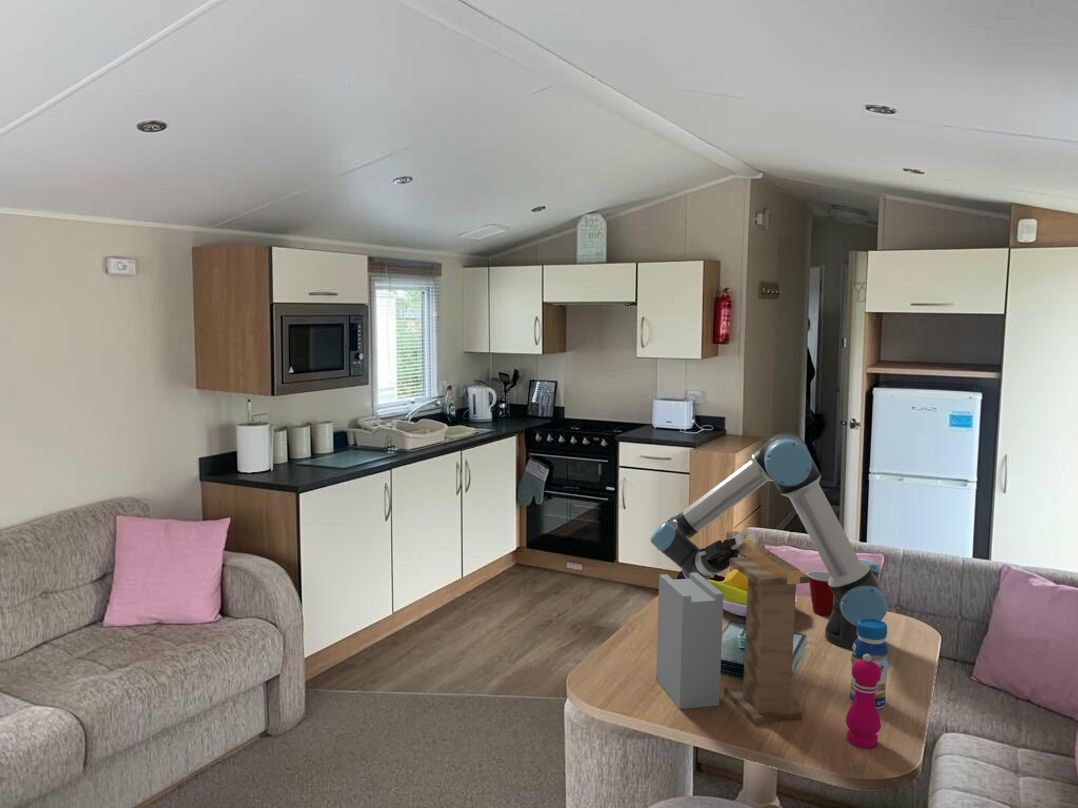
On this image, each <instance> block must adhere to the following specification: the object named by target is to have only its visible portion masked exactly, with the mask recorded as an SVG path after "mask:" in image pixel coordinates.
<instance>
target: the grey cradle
mask: <svg viewBox="0 0 1078 808" xmlns="http://www.w3.org/2000/svg"><path fill="white" fill-rule="evenodd" d="M658 575H659V578H658V606H657V607H658V608H657V610H658V611H657V612H658V613H657V636H656V637H657V643H656V669H655V670H656V672H655V681H657V683H658V684H659V685H660V687H661V688H662V689H663V690H664V692H665V693H666V694H667V695H668V697H669V698H670V699H671V701H672V702H673V703H674V705H675V706H676V707H677V708H678V710H684V709H685V710H686V709H687V710H688V709H697V708H707V707H716V706H718V707H719V706H720V696H721V695H720V692H721V691H720V688H721V667H722V665H721V664H722V645H723V644H722V643H723V642H722V639H723V638H722V637H723V617H724V616H723V615H724V609H723V593H722V592H721V591H719V590H718V589H717V588H716V587H714V586H713V585H712V584H711V583H710V582H708V581H707V580H706V579H705V578H703V577H702V576H701V575H700V574H698V573H697V572H696V573H690V574H689V579H686V578H681V579H679V578H678V579H677V578H675V579H673V578H672V577H671V576H670V575H668V574H667V573H665V574H663V573H662V574H658Z"/></svg>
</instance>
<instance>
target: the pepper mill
mask: <svg viewBox="0 0 1078 808" xmlns="http://www.w3.org/2000/svg"><path fill="white" fill-rule="evenodd" d="M871 659H872V658H871V656H870V655H869V654H865V655H863V659H862V660H858V661H856V662H855V663H854V665H853V667H852V666H851V671H852V675H853V677H854V679H855V680H854V681H853V683H854V685H853V687H854V689H855V698H854V701H853V703H852V702H851V705H850V707H849V708H848V710H847V713H846V716H845V723H846V726H847V728H848V729H847V732H846V740H847V741H848V743H850V744H851V745H853V746H855V747H857V748H862V749H872V748H873V749H874V748H875V747H876V746H877V745H878V738H879V735H878V733H879V731H880V730H881V728H882V725H881V724H882V721H881V717H880V714H879V712H878V711H879V710H878V709H876V706H875V692H877V691H878V688H877V687H878V684H877V682H878V681H879V680H880V678H881V670H880V668H879V666H878V665H877V664H876V663H875V662H873V661H871Z"/></svg>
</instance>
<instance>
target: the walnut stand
mask: <svg viewBox="0 0 1078 808" xmlns="http://www.w3.org/2000/svg"><path fill="white" fill-rule="evenodd" d="M729 564H730V567H732V568H733V569H737V570H738V571H739V572H741V573H742V574H744V575H745V576H746V577H748V588H747V611H746V616H745V637H744V638H745V639H744V641H745V642H744V660H743V661H744V662H743V663H744V665H743V680H742V681H743V685H730V686H724V690H723V693H724V694H725V695H726V696H727V698H729V700H731V702H732V703H733V704H734V705H735V706H736V707H737V709H739V711H741V712H742V713H743V715H744V716H745V717H746V718H748V720H749V721H750V722H751V723H752V724H753V725H759V724H768V723H779V722H787V721H788V722H789V721H798V720H802V719H803V713H802V711H801V710H800V709H798V708H797V707H796V705H794V704H793V703H792V702H791V699H792V698H791V697H792V696H791V694H792V675H793V674H792V673H793V654H794V634H795V633H794V632H795V616H796V611H795V610H796V603H795V599H796V597H797V584H786V583H785V582H783V581H782V580H780V579H779V578H777V577H776V576H774V575H773V574H771V573H770V572H768V571H767V570H765V569H764V568H762V567H761V566H759V565H758V564H756V563H755V562H753V561H752V560H750V559H749V558H747V557H744V556H743V557H736V558H730V563H729ZM799 584H801V585H802V584H809V576H808V575H807V573H804V572H803V571H802V570H801V571H800V583H799Z"/></svg>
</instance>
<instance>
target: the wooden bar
mask: <svg viewBox="0 0 1078 808" xmlns="http://www.w3.org/2000/svg"><path fill="white" fill-rule="evenodd" d="M738 533H740V531H737V530H736V531H726V537H725V538H726V539H727V540H729V539H730V538H732V537H733V536H735V535H736V534H738ZM743 536H744V541H745V543H744V544H742V545H741V546H739V547H737V548H736V549H735V550H737V551H738V552H740V553H741V554H743V555H744V556H746V557H747V558H749V559H750V560H752V561H753V562H755V563H756V564H758V565H759V566H761V567H762V568H764V569H765V570H767V571H768V572H770V573H771V574H773V575H774V576H776V577H777V578H779V579H780V580H782V581H783V582H785V583H786V584H796V585H798V584H799V583H800V571H801V572H802V570H801V569H799V568H798V567H796V566H795V565H793V564H791V563H789V562H788V561H786V560H785V559H783V558H781V557H780V556H778V555H777V554H775V553H773V552H772V551H770V550H768V549H767V548H765V547H764V546H762V545H760V544H759V543H756V542H754V541H752V540H751V539H749V538H747V537H746V536H747V535H744V534H743ZM726 539H725V540H726ZM744 556H743V557H744Z"/></svg>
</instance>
